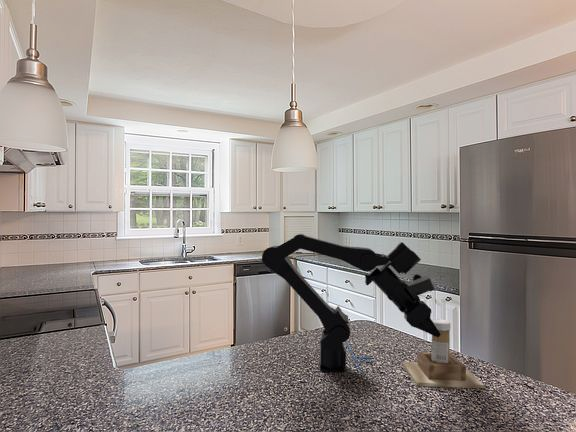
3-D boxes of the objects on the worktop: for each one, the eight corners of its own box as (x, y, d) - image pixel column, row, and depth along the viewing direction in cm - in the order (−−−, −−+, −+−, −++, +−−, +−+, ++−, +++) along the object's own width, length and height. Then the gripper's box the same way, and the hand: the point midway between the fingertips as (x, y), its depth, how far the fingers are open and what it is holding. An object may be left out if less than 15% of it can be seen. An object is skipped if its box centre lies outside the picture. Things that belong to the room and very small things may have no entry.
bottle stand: (417, 385, 88) (417, 368, 88) (402, 364, 101) (402, 349, 101) (484, 388, 88) (484, 370, 88) (460, 366, 101) (461, 351, 101)
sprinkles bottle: (451, 372, 95) (452, 320, 95) (447, 378, 91) (448, 324, 91) (433, 367, 98) (434, 317, 98) (428, 373, 94) (429, 321, 94)
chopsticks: (360, 339, 119) (345, 339, 119) (381, 370, 94) (361, 371, 94) (360, 343, 119) (345, 343, 119) (381, 376, 94) (361, 376, 94)
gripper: (422, 270, 86) (470, 319, 85) (408, 261, 105) (447, 302, 103) (387, 301, 88) (434, 351, 86) (379, 287, 106) (418, 327, 104)
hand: (434, 330), depth 95 cm, fingers open, 9 cm apart
